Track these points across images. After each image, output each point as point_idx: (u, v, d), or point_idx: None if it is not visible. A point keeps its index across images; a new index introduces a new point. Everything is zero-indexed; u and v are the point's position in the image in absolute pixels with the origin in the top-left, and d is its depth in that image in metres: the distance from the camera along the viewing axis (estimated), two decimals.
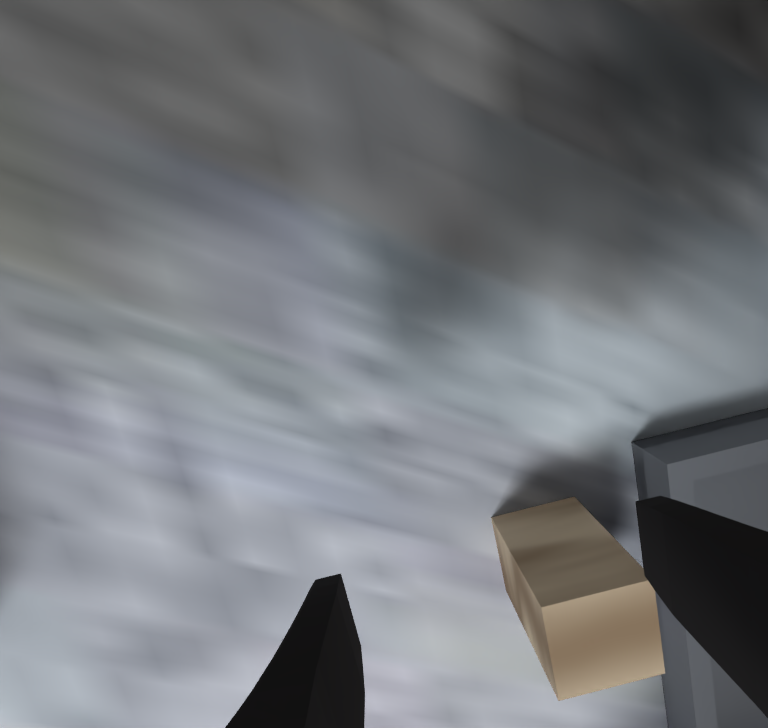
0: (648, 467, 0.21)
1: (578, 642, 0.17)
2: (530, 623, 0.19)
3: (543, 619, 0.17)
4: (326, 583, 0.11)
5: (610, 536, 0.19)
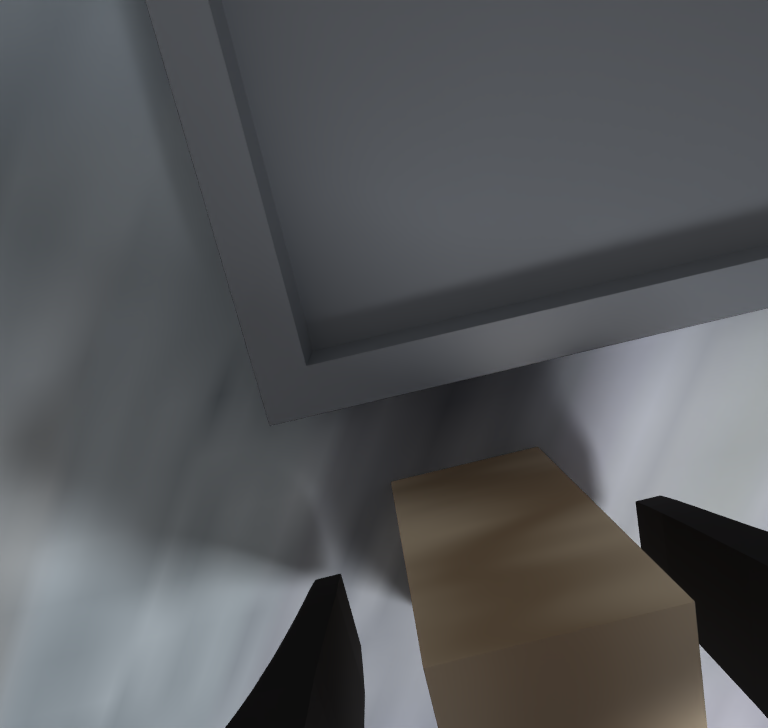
0: None
1: None
2: None
3: None
4: (326, 583, 0.11)
5: (408, 551, 0.10)
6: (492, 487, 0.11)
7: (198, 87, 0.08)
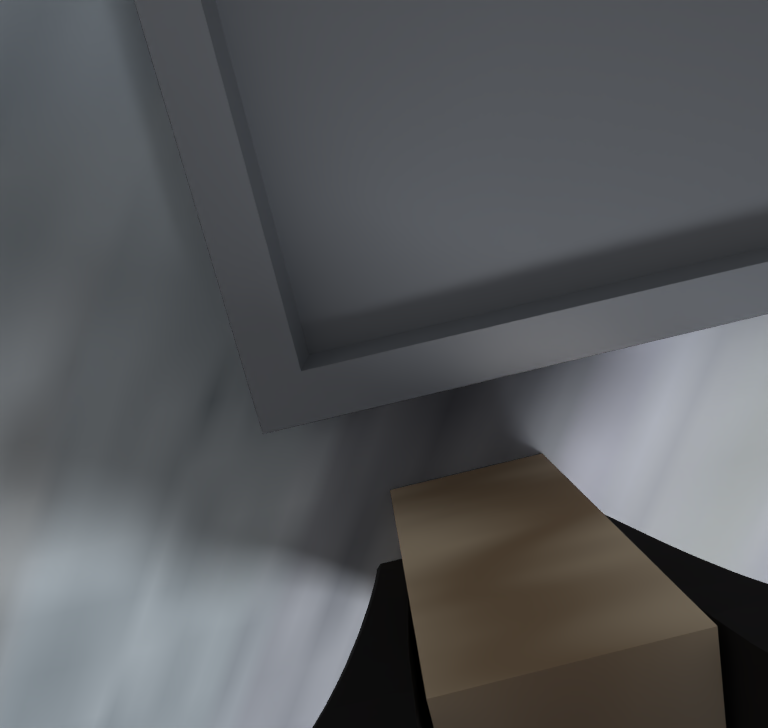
0: None
1: None
2: None
3: None
4: (393, 566, 0.11)
5: (408, 567, 0.09)
6: (496, 497, 0.11)
7: (186, 77, 0.08)
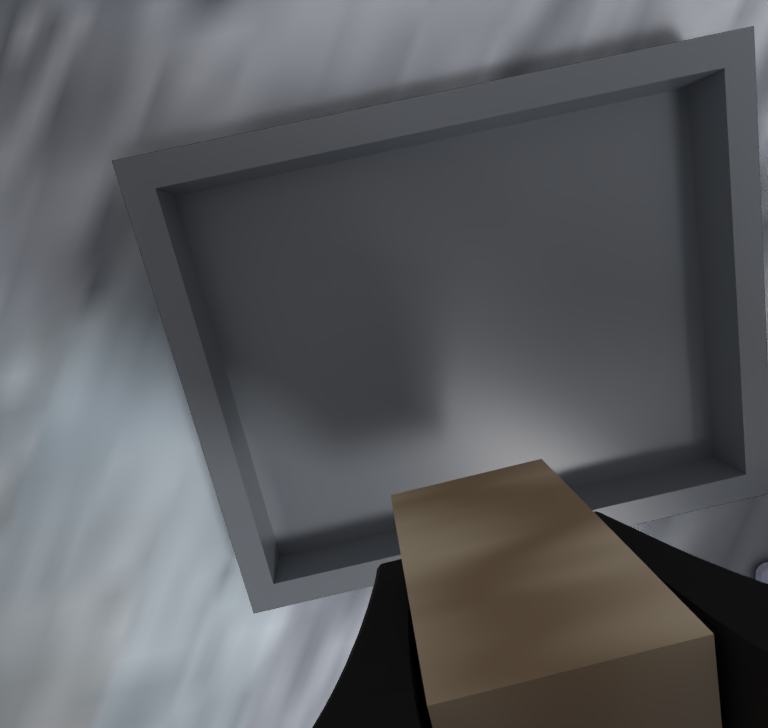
0: None
1: None
2: None
3: None
4: (393, 566, 0.11)
5: (409, 573, 0.09)
6: (496, 503, 0.11)
7: (219, 458, 0.16)
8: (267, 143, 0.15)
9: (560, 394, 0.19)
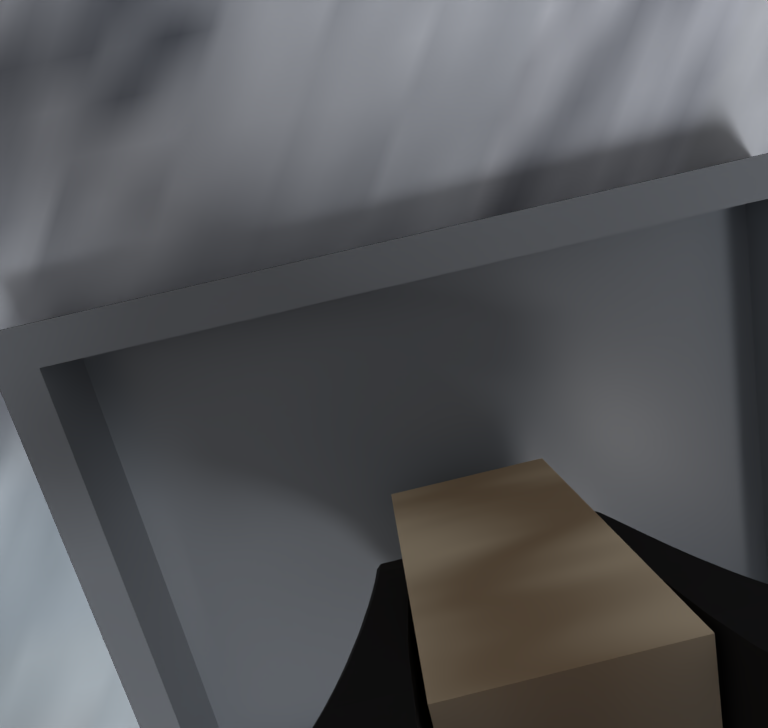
0: None
1: None
2: None
3: None
4: (394, 567, 0.11)
5: (410, 572, 0.09)
6: (496, 502, 0.11)
7: (144, 692, 0.13)
8: (189, 306, 0.11)
9: None
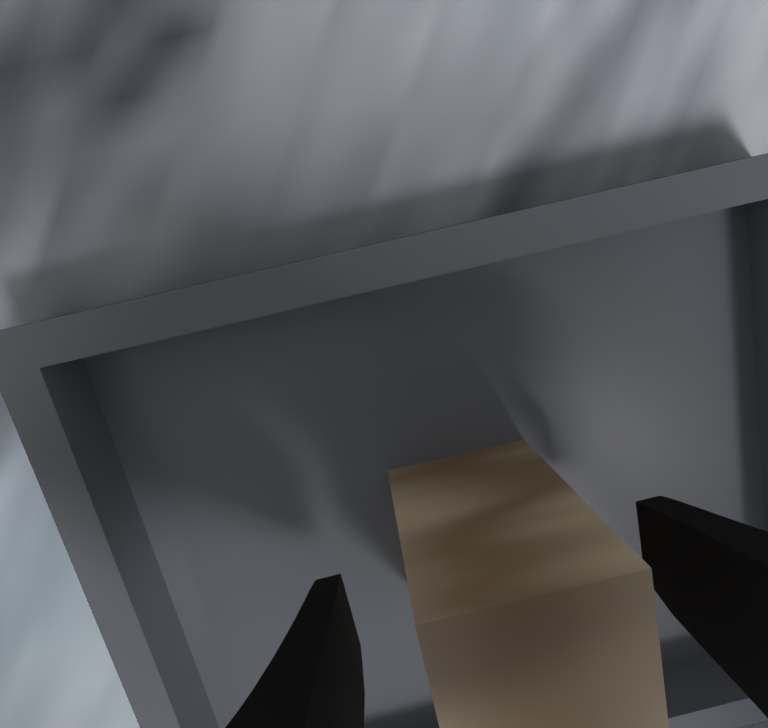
0: None
1: None
2: None
3: None
4: (326, 583, 0.11)
5: (403, 530, 0.11)
6: (480, 475, 0.12)
7: (144, 692, 0.13)
8: (189, 306, 0.11)
9: None
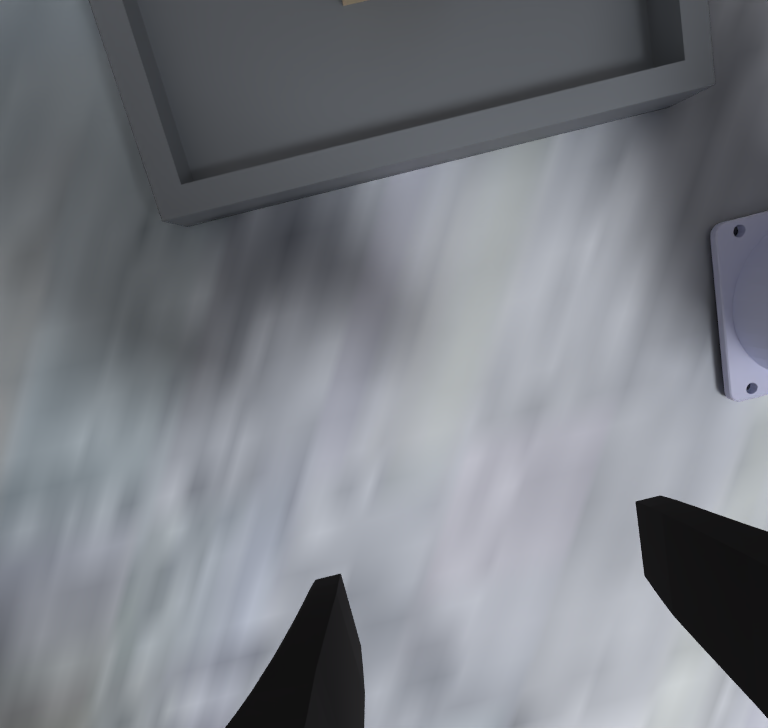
0: (196, 219, 0.18)
1: None
2: None
3: None
4: (326, 583, 0.11)
5: None
6: None
7: (111, 23, 0.15)
8: None
9: None
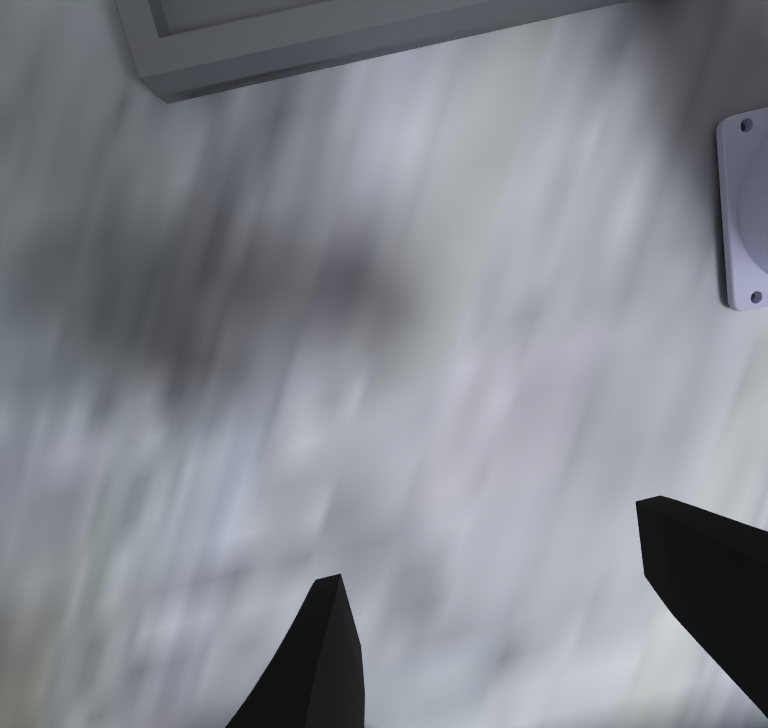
0: (176, 88, 0.17)
1: None
2: None
3: None
4: (326, 583, 0.11)
5: None
6: None
7: None
8: None
9: None
